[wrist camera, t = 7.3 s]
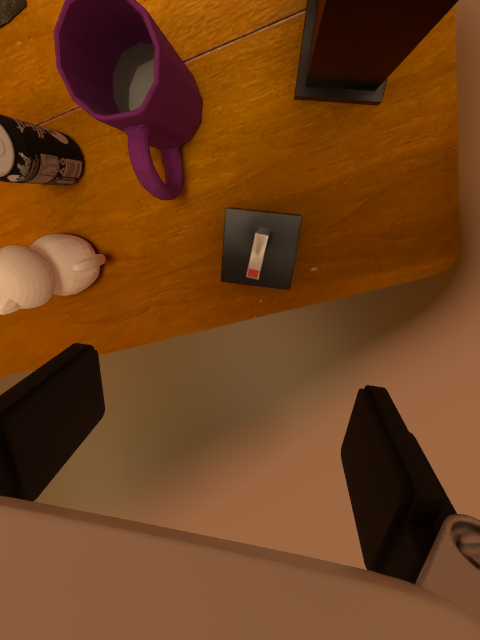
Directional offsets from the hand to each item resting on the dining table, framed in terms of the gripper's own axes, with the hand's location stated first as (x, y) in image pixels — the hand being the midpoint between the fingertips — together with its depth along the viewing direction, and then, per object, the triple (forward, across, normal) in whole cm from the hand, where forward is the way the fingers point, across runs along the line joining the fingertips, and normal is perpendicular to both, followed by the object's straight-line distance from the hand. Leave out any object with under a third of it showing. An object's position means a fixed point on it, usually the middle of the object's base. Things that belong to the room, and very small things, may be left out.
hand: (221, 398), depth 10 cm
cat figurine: (+35, +29, +5) cm, 46 cm away
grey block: (+32, +1, 0) cm, 32 cm away
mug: (+35, +14, -13) cm, 40 cm away
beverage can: (+35, +30, -9) cm, 47 cm away
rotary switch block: (+35, +1, 0) cm, 35 cm away
